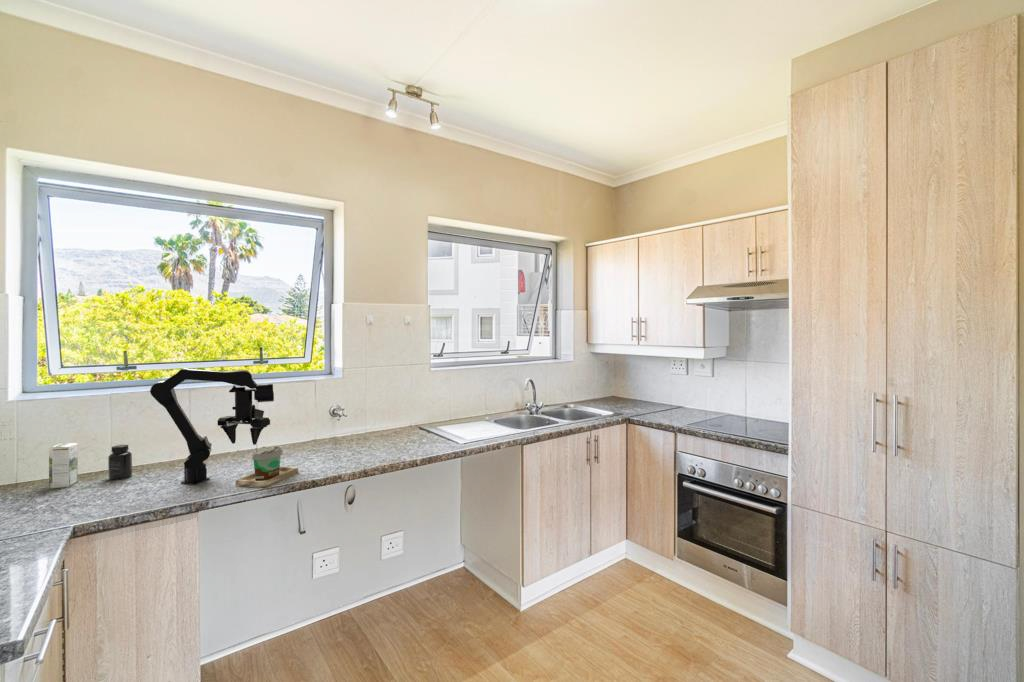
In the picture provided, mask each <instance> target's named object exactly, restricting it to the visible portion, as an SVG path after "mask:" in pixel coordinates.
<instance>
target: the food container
mask: <svg viewBox="0 0 1024 682" xmlns="http://www.w3.org/2000/svg"><path fill="white" fill-rule="evenodd" d="M282 455H283V449H282V448H281V447H279V446H277V445H275V446H274V448H273V449H271V450H265V451H263V452H261V453H253V454H252V461H253V465H254V466H253V468H254V473H255V480H256V481H263V480H269V479H271V478H274V477H276V476H278V475H279V470H280V466H281V456H282Z"/></svg>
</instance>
